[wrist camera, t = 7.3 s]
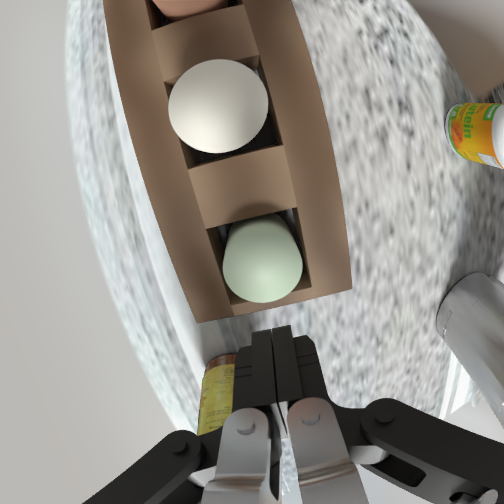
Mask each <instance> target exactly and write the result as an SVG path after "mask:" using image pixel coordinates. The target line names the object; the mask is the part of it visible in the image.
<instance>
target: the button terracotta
mask: <svg viewBox="0 0 504 504" xmlns="http://www.w3.org/2000/svg"><path fill="white" fill-rule="evenodd" d="M153 1H154V3H155V4H156V5H157V7H158V8H159V9H160V10H161V12H162V13H163V14H164V16H165V17H166V18H167V20H168V21H169V22H170V23H174V22H177V21H181V20H184V19H187V18H190V17H193V16H197V15H200V14H204V13H208V12H212V11H216V10H220V9H224V8H228V5H229V0H153Z"/></svg>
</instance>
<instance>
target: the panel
mask: <svg viewBox="0 0 504 504" xmlns="http://www.w3.org/2000/svg"><path fill="white" fill-rule="evenodd" d="M236 1H237V4H238V6H233V7H228V8H224V9H220V10H216V11H212V12H208V13H204V14H200V15H197V16H193V17H190V18H187V19H184V20H181V21H177V22H174V23H172V24H169V25H166V26H163V27H162V23H161V18H160V14H159V10H158V7H157V5H156V4H155V3H154V1H153V0H103V5H104V13H105V19H106V26H107V32H108V38H109V44H110V49H111V54H112V59H113V64H114V69H115V74H116V79H117V83H118V88H119V92H120V96H121V100H122V105H123V109H124V113H125V117H126V120H127V124H128V128H129V132H130V135H131V139H132V143H133V146H134V150H135V153H136V157H137V160H138V163H139V167H140V170H141V173H142V177H143V180H144V183H145V186H146V189H147V192H148V196H149V199H150V202H151V205H152V208H153V211H154V214H155V216H156V219H157V222H158V225H159V228H160V231H161V234H162V236H163V239H164V242H165V245H166V247H167V250H168V253H169V255H170V258H171V261H172V263H173V266H174V268H175V271H176V274H177V276H178V279H179V281H180V284H181V286H182V289H183V291H184V294H185V296H186V298H187V301H188V303H189V306H190V308H191V310H192V313H193V315H194V317H195V320H196V322H197V323H201V322H207V321H212V320H218V319H223V318H228V317H233V316H238V315H243V314H248V313H253V312H257V311H262V310H267V309H271V308H276V307H280V306H285V305H289V304H293V303H298V302H302V301H306V300H310V299H314V298H318V297H322V296H326V295H330V294H334V293H338V292H342V291H346V290H350V289H352V278H351V267H350V257H349V248H348V239H347V231H346V224H345V216H344V209H343V203H342V196H341V190H340V184H339V178H338V173H337V167H336V162H335V157H334V152H333V147H332V142H331V137H330V132H329V128H328V123H327V119H326V115H325V111H324V106H323V102H322V98H321V94H320V91H319V87H318V83H317V79H316V76H315V72H314V69H313V65H312V62H311V58H310V55H309V52H308V49H307V45H306V42H305V39H304V36H303V33H302V30H301V27H300V24H299V21H298V18H297V16H296V13H295V10H294V7H293V5H292V2H291V0H236ZM216 59H225V60H232V61H235V62H238V63H241V64H243V65H245V66H246V67H248V68H250V69H251V70H255V69H257V70H258V73H259V77H260V80H261V81H262V83H263V85H264V87H265V89H266V92H267V97H268V110H269V114H270V118H271V122H272V126H273V130H274V134H275V138H276V142H277V144H272V145H268V146H263V147H259V148H255V149H251V150H247V151H243V152H239V153H235V154H231V155H227V156H223V157H220V158H216V159H212V160H209V161H205V162H202V163H198V160H197V157H196V153H195V149H194V148H193V147H191V146H190V145H188V144H186V143H185V142H184V141H183V140H182V139H181V138H180V137H179V136H178V135H177V133H176V132H175V131H174V129H173V127H172V124H171V122H170V118H169V111H168V105H169V98H170V94H171V92H172V89H173V87H174V85H175V84H176V82H177V81H178V79H179V78H180V77H181V76H182V75H183V74H184V73H185V72H186V71H187V70H189V69H190V68H192V67H193V66H195V65H197V64H199V63H202V62H205V61H209V60H216ZM290 208H292V212H293V217H294V222H295V227H296V232H297V237H298V242H299V247H300V252H301V257H302V262H303V263H302V274H301V277H300V280H299V282H298V283H297V285H296V286H295V288H294V289H293V290H292V291H291V292H290V293H289V294H287V295H286V296H284V297H283V298H281V299H278V300H276V301H272V302H267V303H257V302H251V301H248V300H245V299H243V298H241V297H239V296H238V295H237V294H235V293H234V292H233V291H232V290H231V289H230V287H229V286H228V284H227V283H226V281H225V278H224V274H223V261H224V256H225V251H224V248H223V245H222V242H221V238H220V235H219V232H218V228H217V226H220V225H224V224H228V223H232V222H236V221H240V220H244V219H248V218H252V217H256V216H260V215H265V214H269V213H273V212H277V211H282V210H286V209H290Z"/></svg>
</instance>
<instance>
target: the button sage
mask: <svg viewBox="0 0 504 504" xmlns="http://www.w3.org/2000/svg"><path fill="white" fill-rule="evenodd" d="M223 274H224V278H225V281H226V283H227V284H228V286H229V287H230V289H231V290H232V291H233V292H234V293H235V294H237V295H238V296H239V297H241V298H243V299H245V300H248V301H251V302H257V303H267V302H272V301H276V300H278V299H281V298H283V297H284V296H286V295H287V294H289V293H290V292H291V291H292V290H293V289H294V288H295V286H296V285H297V283H298V282H299V280H300V277H301V274H302V258H301V255H300V253H299V250H298V248H297V245H296V243H295V241H294V238H293V236H292V234H291V231H290V229H289V227H288V225H287V224H286V222H285V221H284V220H283V219H282V218H281V217H279V216H278V215H276V214H274V213H269V214H265V215H260V216H256V217H252V218H248V219H244V220H240V221H236V222H234V224H233V225H232V227H231V229H230V231H229V234H228V239H227V245H226V250H225V256H224V261H223Z"/></svg>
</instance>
